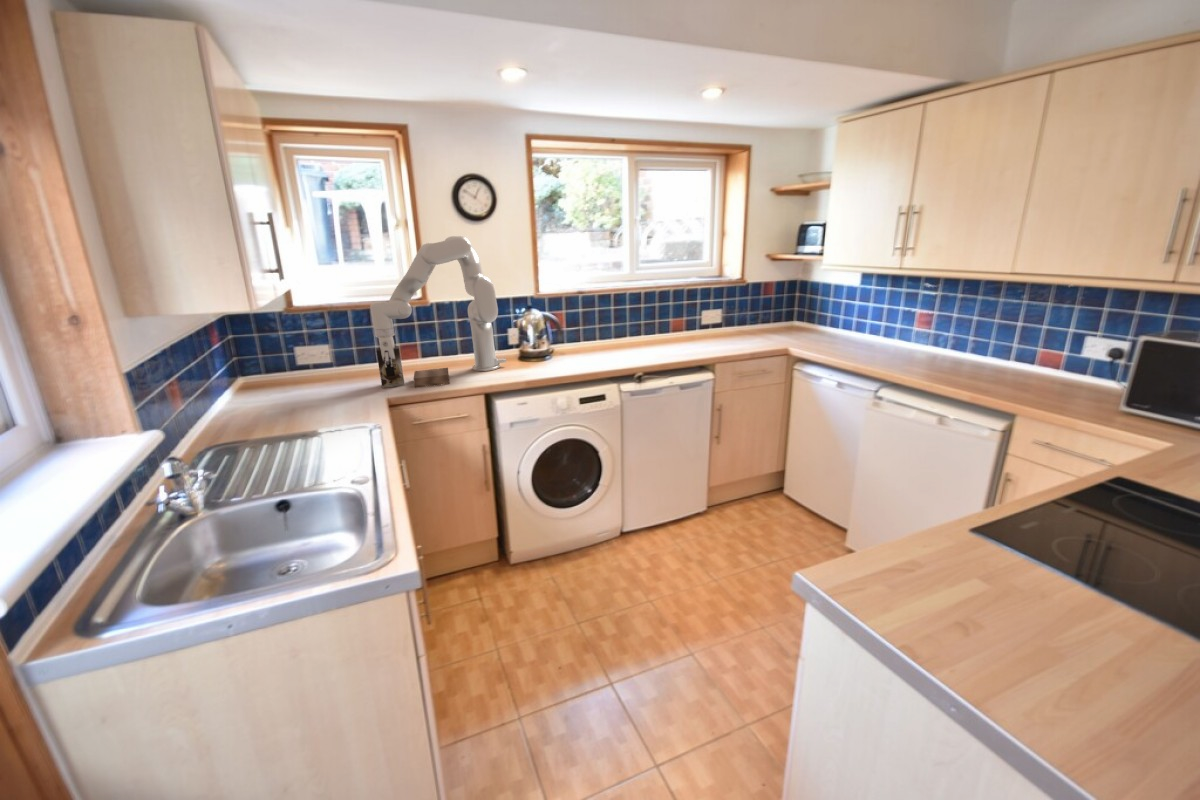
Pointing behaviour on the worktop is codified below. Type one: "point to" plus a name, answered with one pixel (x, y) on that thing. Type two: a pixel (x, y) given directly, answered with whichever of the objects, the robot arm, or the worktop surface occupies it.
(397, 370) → the coffee box
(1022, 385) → the worktop surface
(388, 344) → the robot arm
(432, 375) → the walnut plinth
